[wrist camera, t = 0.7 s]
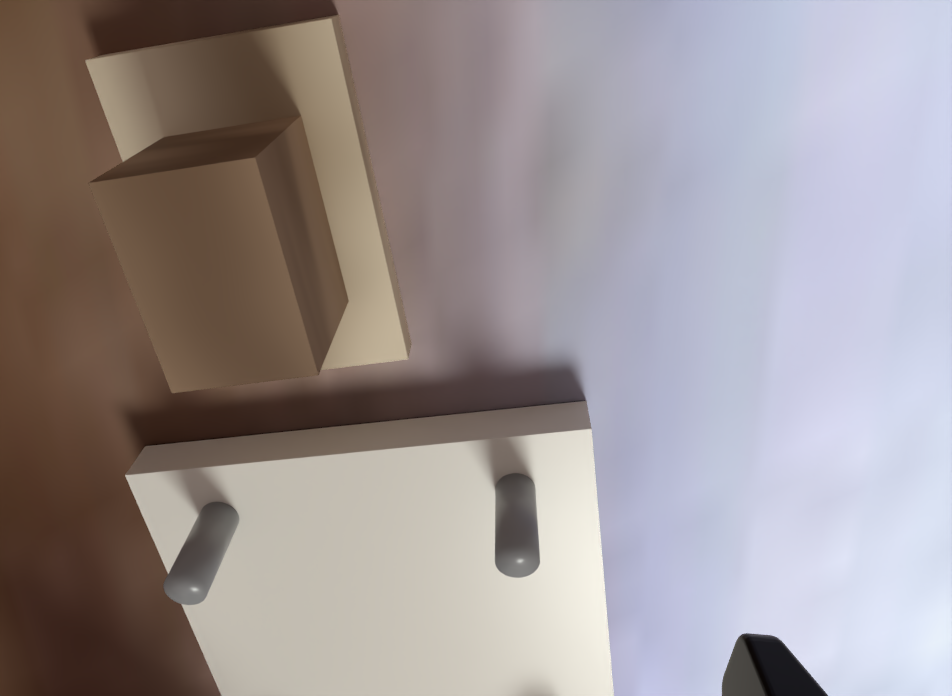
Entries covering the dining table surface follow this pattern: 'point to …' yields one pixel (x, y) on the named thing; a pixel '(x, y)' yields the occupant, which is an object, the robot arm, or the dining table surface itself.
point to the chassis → (389, 555)
